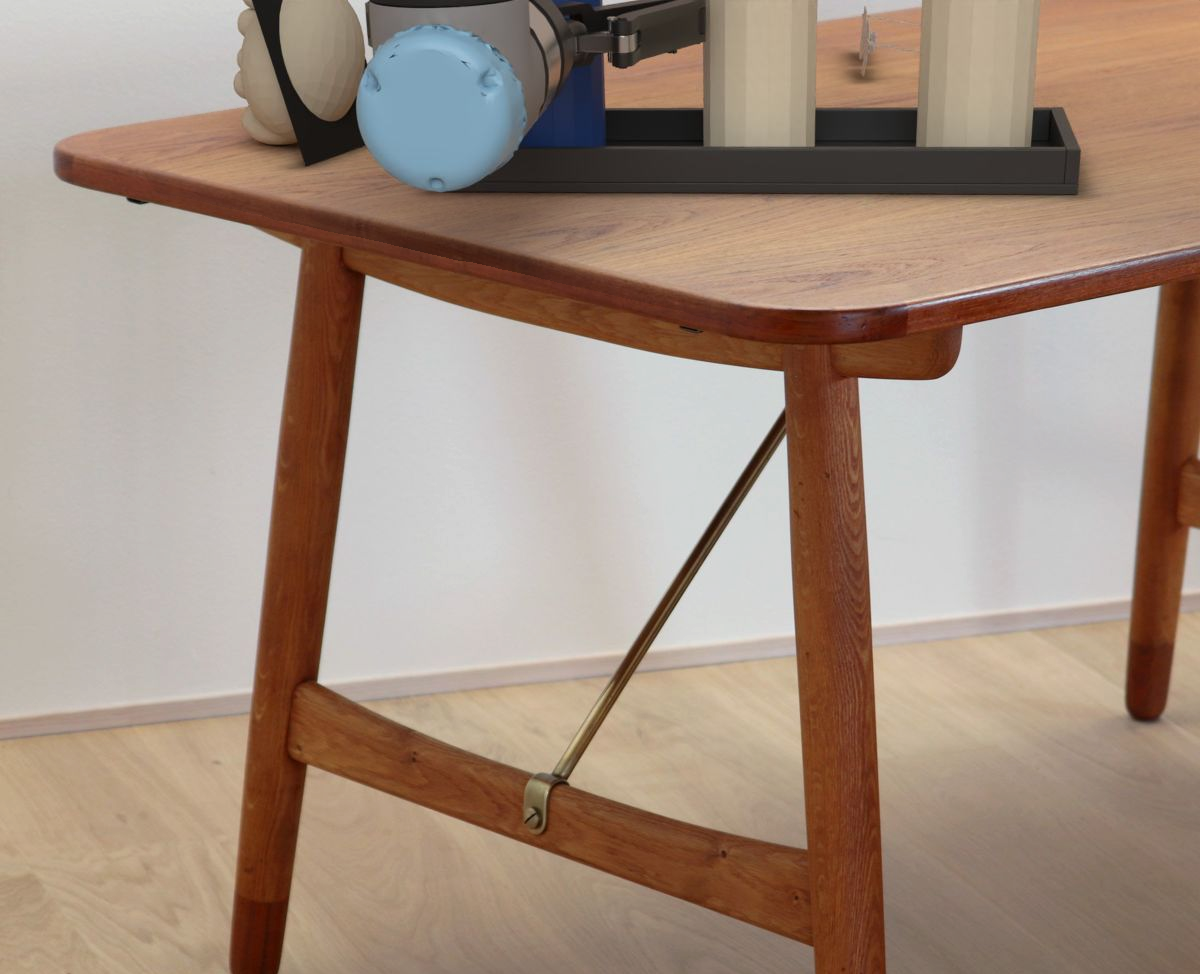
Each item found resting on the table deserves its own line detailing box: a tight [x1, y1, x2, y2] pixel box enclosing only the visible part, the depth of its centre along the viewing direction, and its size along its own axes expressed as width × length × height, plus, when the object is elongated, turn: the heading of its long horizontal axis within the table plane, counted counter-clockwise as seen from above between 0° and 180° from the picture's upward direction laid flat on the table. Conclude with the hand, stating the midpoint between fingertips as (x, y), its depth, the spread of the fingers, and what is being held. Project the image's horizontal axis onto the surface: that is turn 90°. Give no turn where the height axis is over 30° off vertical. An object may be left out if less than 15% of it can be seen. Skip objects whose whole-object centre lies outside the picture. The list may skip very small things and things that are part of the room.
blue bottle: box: [519, 0, 606, 146], centre depth 118 cm, size 7×7×16 cm
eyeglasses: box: [858, 5, 921, 78], centre depth 150 cm, size 14×8×4 cm, turn 175°
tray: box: [444, 106, 1082, 195], centre depth 119 cm, size 38×13×3 cm, turn 82°
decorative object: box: [232, 0, 368, 167], centre depth 127 cm, size 13×10×10 cm
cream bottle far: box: [916, 0, 1042, 147], centre depth 114 cm, size 7×7×16 cm
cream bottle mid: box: [702, 0, 819, 147], centre depth 116 cm, size 7×7×16 cm
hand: (555, 2), depth 120 cm, fingers open, 13 cm apart
